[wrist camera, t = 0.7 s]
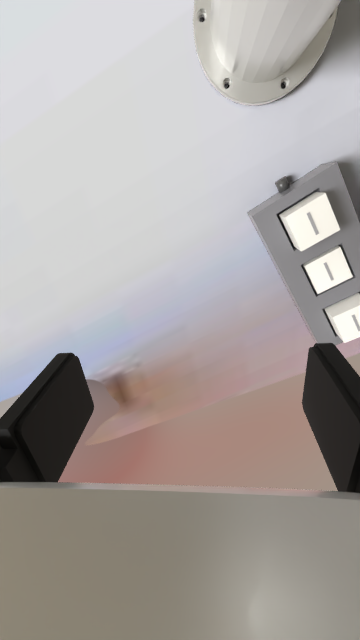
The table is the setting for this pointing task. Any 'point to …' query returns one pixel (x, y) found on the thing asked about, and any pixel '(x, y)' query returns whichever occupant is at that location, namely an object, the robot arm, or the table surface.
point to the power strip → (352, 238)
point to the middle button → (327, 270)
